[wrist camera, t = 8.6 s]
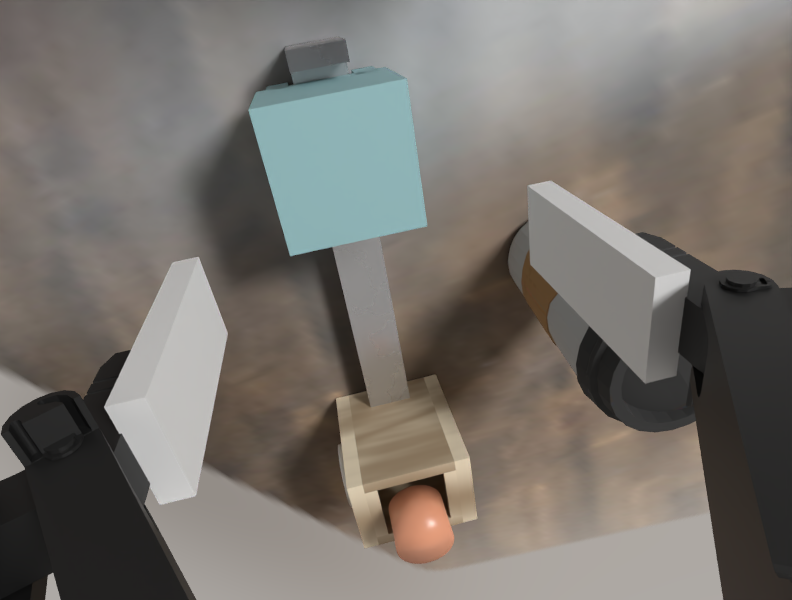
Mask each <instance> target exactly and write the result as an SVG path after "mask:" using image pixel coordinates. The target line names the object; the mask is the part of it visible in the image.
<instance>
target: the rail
mask: <svg viewBox="0 0 792 600" xmlns="http://www.w3.org/2000/svg"><path fill="white" fill-rule="evenodd" d="M285 55H286V59H287V63H288V67H289V71H290V73H291V76H292V80H293V85H295V84H300V83H305V82H311V81H316V80H321V79H326V78H331V77H336V76H341V75H347V74H349V73H348V67H347V62H350V61H349V56H348V50H347V45H346V40H345V39H343V38H341V37H334V38H329V39H323V40H318V41H313V42H307V43H302V44H297V45H291V46H286V47H285ZM333 251H334V256H335V260H336V264H337V268H338V272H339V277H340V281H341V285H342V289H343V293H344V297H345V302H346V306H347V310H348V314H349V318H350V322H351V327H352V331H353V335H354V339H355V343H356V347H357V352H358V356H359V360H360V364H361V368H362V372H363V377H364V381H365V385H366V389H367V393H368V398H369V402H370V406H371V407H375V406H379V405H383V404H387V403H391V402H395V401H399V400H403V399H408V398H410V396H409V390H408V385H407V380H406V374H405V369H404V364H403V359H402V353H401V348H400V343H399V337H398V332H397V327H396V321H395V316H394V311H393V306H392V300H391V295H390V290H389V284H388V279H387V274H386V269H385V263H384V258H383V253H382V247H381V242H380V237H375V238H371V239H366V240H362V241H357V242H353V243H348V244H343V245H339V246H334V247H333Z"/></svg>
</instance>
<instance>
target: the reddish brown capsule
mask: <svg viewBox="0 0 792 600" xmlns="http://www.w3.org/2000/svg"><path fill="white" fill-rule="evenodd" d="M389 515H390V520H391V525H392V530H393V535H394V540H395V545H396V550H397V553H398V555H399V557H400V558H401V559H403V560H404V561H406V562H409V563H414V564H422V563H428V562H431V561H434V560H437V559H439V558H440V557H442V556H443V555H445V554H446V553H447V552H448V551H449V550H450V549H451V547H452V545H453V543H454V535H453V532H452V529H451V525H450V522H449V519H448V516H447V513H446V510H445V506H444V503H443V500H442V497H441V494H440V493H439V491H438V490H437V489H435V488H433V487H431V486H427V485H414V486H410V487H407V488H405V489H403V490H401V491H399V492H398V493H397V494H396V495H395V496H394V497H393V498H392V499H391V501H390V503H389Z"/></svg>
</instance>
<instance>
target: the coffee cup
mask: <svg viewBox="0 0 792 600" xmlns="http://www.w3.org/2000/svg"><path fill="white" fill-rule="evenodd" d="M508 265H509V271H510V274H511V276H512V278H513V280H514V282H515V283H516V285H517V286H518V288H519V289H520V291H521V292H522V294H523V295H524V297H525V299H526V301H527V303H528V305H529V306H530V308H531V309H532V311H533V312H534V314H535V315H536V317H537V319H538V320H539V322H540V323H541V325H542V326H543V328H544V329H545V331H546V332H547V334H548V335H549V337H550V338H551V340H552V341H553V343H554V344H555V345H556V346H557V347H558V348H559V349H560V351H561V352H562V354H563V355H564V357H565V358H566V360H567V361H568V363H569V364H570V366H571V368H572V369H573V371H574V372H575V374H576V375H577V379H578V382H579V384H580V386H581V388H582V390H583V392H584V394H585V395H586V396H587V397H588V398H590V399H591V400H592V401H593V402H594V403H595V404H596V405H597V406H598V407H599V408H600V409H601V410H602V411H603V412H604V413H605V414H606V415H608V416H609V417H611V418H614V419H616V420H619V421H621V422H623V423H624V424H625V425H626V426H629V427H631V428H634V429H636V430H639V431H647V432H661V431H668V430H673V429H676V428H679V427H682V426H685V425H688V424H691V423H692V422H694V421H696V418H695V411H694V405H693V402H692V406H691V407H690V406H686V401H687V394H688V388H689V381H690V375H691V368H692V364H691V363H690V362H689V361H687V360H686V359H685V358H684V357H683V356H682V355H680V354H679V360H678V368H677V375H676V376H674V377H670V378H666V379H662V380H658V381H654V382H650V383H646V384H645V383H644V382H643V381H642V380H641V379H640V378H639V377H638V376H637V375H636V374H635V373H634V372H633V371H632V370H631V368H630V367H629V366H628V365H627V364H626V363H625V362H624V361H623V360H622V359H621V358H620V357H619V356H618V355H617V354H616V353H615V352H614V351H613V350H612V349H611V348H610V347H609V346H608V345H607V344H606V343H605V341H604V340H603V339H602V338H601V337H600V336H599V335H598V334H597V333H596V332H595V331H594V330H593V329H592V328H591V327H590V326H589V325H588V324H587V323H586V322H585V321H584V320H583V319H582V318H581V317H580V316H579V315H578V313H577V312H576V311H575V310H574V309H573V308H572V307H571V306H570V305H569V304H568V303H567V302H566V301H565V300H564V299H563V298H562V297H561V296H560V295H559V294H558V293H557V292H556V291H555V290H554V289H553V288H552V286H551V285H550V284H549V283H548V282H547V281H546V280H545V279H544V278H543V277H542V276H541V275H540V274H539V273H538V272H537V271H536V270H535V269H534V268H533V267H532V266H531V265H530V245H529V221H528V222H527V223H526V224H525V225H524V226H523V227H522V228H521V229H520V230H519V231H518V233H517V234H516V236H515V237H514V239H513V242H512V244H511V247H510V251H509V258H508Z"/></svg>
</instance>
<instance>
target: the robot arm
mask: <svg viewBox="0 0 792 600" xmlns="http://www.w3.org/2000/svg"><path fill="white" fill-rule="evenodd" d="M527 189H528V217H529V245H530V265H531V266H532V267H533V268H534V269H535V270H536V271H537V272H538V273H539V274H540V275H541V276H542V277H543V278H544V279H545V280H546V281H547V282H548V283H549V284H550V285H551V286H552V288H553V289H554V290H555V291H556V292H557V293H558V294H559V295H560V296H561V297H562V298H563V299H564V300H565V301H566V302H567V303H568V304H569V305H570V306H571V307H572V308H573V309H574V310H575V311H576V312H577V313H578V315H579V316H580V317H581V318H582V319H583V320H584V321H585V322H586V323H587V324H588V325H589V326H590V327H591V328H592V329H593V330H594V331H595V332H596V333H597V334H598V335H599V336H600V337H601V338H602V339H603V340H604V341H605V343H606V344H607V345H608V346H609V347H610V348H611V349H612V350H613V351H614V352H615V353H616V354H617V355H618V356H619V357H620V358H621V359H622V360H623V361H624V362H625V363H626V364H627V365H628V366H629V367H630V368H631V370H632V371H633V372H634V373H635V374H636V375H637V376H638V377H639V378H640V379H641V380H642V381H643V382H644V383H645V384H646V383H650V382H654V381H658V380H662V379H666V378H670V377H674V376H676V375H677V368H678V360H679V354H680V355H682V356H683V357H684V358H685V359H686V360H687V361H689V362H690V363H691V364H692V368H691V375H690V381H689V388H688V394H687V401H686V406H690V407H691V406H692V402H693V405H694V411H695V418H696V424H697V431H698V437H699V444H700V450H701V457H702V463H703V470H704V476H705V483H706V489H707V496H708V502H709V509H710V515H711V522H712V528H713V534H714V541H715V548H716V554H717V561H718V567H719V574H720V580H721V587H722V593H723V600H792V288H779V287H778V285H777V284H776V283H775V282H774V281H773V280H772V279H770V278H768V277H766V276H764V275H762V274H758V273H754V272H750V271H742V270H724V271H719V272H718V271H716V270H715V269H713V268H711V267H710V266H708V265H706V264H705V263H703V262H701V261H700V260H698V259H696V258H695V257H693V256H691V255H690V254H686V252H685V251H683V250H681V249H680V248H678V247H677V248H675V245H673V244H671V243H670V242H668V241H666V240H665V239H663V238H661V237H657V236H654V235H650V234H647V233H643V232H641V233H637V234H634V233H632V232H631V231H629V230H628V229H626V228H625V227H623V226H621V225H620V224H618V223H617V222H615V221H614V220H612V219H610V218H609V217H607V216H606V215H604V214H603V213H601V212H599V211H598V210H596V209H595V208H593V207H592V206H590V205H588V204H587V203H585V202H584V201H582V200H580V199H579V198H577V197H576V196H574V195H573V194H571V193H569V192H568V191H566V190H565V189H563V188H562V187H560V186H558V185H557V184H555V183H554V182H552V181H547V182H542V183H537V184H533V185H528V186H527ZM227 335H228V333H227V330H226V327H225V325H224V322H223V319H222V317H221V314H220V312H219V309H218V306H217V304H216V301H215V299H214V296H213V293H212V291H211V288H210V285H209V283H208V280H207V278H206V275H205V272H204V270H203V267H202V265H201V262H200V259H199V257H195V258H190V259H186V260H181V261H176V262H173V263H172V265H171V267H170V269H169V271H168V273H167V275H166V277H165V279H164V282H163V284H162V286H161V288H160V290H159V292H158V294H157V296H156V298H155V301H154V303H153V305H152V307H151V309H150V311H149V313H148V315H147V317H146V320H145V322H144V324H143V326H142V328H141V330H140V332H139V334H138V336H137V339H136V341H135V343H134V345H133V347H132V349H131V350H128V351H124V352H120V353H115V354H114V355H113V356H112V357H111V358H110V359H109V360H108V361H107V362H106V363H105V364H104V365H103V366H102V367H100V369H99V371H98V373H97V375H96V377H95V379H94V380H93V384H91V386H90V388H89V390H88V392H87V395H86V396H85V397H84V399H83V400H82V398H81V396H80V395H79V394H78V393H76V392H75V391H66V390H64V391H59V392H54V393H50V394H47V395H45V396H42V397H39V398H37V399H35V400H33V401H31V402H30V403H28V404H26V405H25V406H23V407H21V408H20V409H19V410H17V411H16V412H15V413H14V414H12V415H11V416H10V417H9V418H8V420H7V421H6V422H5V424H4V425H3V426H2V431H1V435H2V437H3V438H4V439H5V441H6V442H7V443H8V445H9V446H10V448H11V449H12V450H13V452H14V453H15V455H16V456H17V457H18V459H19V460H20V461H21V463H22V464H23V466H24V467H25V470H24V471H22V472H20V473H18V474H16V475H13V476H11V477H9V478H6V479H4V480H2V481H0V600H45V595H46V586H47V577H48V575H49V574H51V573H54V577H55V580H56V584H57V587H58V591H59V595H60V599H61V600H196V598H195V596H194V594H193V593H192V591H191V589H190V587H189V585H188V583H187V581H186V580H185V578H184V576H183V574H182V572H181V570H180V568H179V566H178V565H177V563H176V561H175V559H174V557H173V555H172V553H171V551H170V550H169V548H168V546H167V544H166V542H165V540H164V538H163V537H162V535H161V533H160V531H159V529H158V527H157V525H156V524H155V522H154V520H153V518H152V516H151V514H150V513H149V511H148V509H147V508H146V506H145V504H144V503H145V500H146V497H147V493H148V490H149V487H150V488H151V490H152V492H153V494H154V495H155V497H156V499H157V501H158V502H159V504H160V505H162V504H166V503H170V502H174V501H178V500H182V499H186V498H190V497H194V496H196V494H197V488H198V483H199V478H200V473H201V468H202V463H203V458H204V453H205V448H206V443H207V437H208V432H209V427H210V422H211V417H212V412H213V407H214V401H215V396H216V391H217V386H218V381H219V376H220V371H221V366H222V360H223V355H224V350H225V345H226V340H227Z"/></svg>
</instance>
